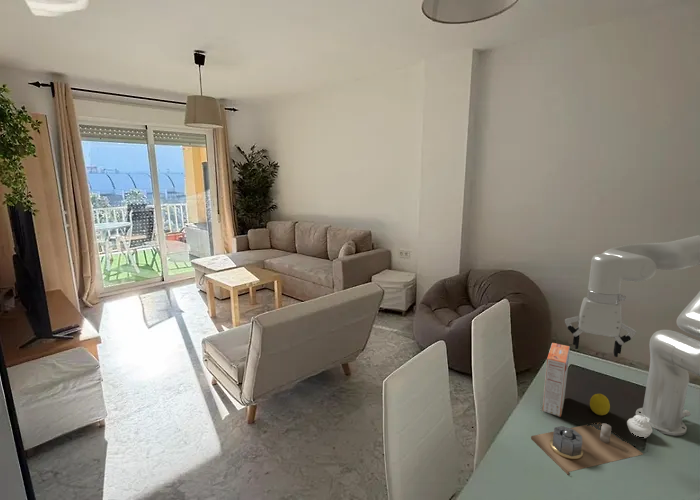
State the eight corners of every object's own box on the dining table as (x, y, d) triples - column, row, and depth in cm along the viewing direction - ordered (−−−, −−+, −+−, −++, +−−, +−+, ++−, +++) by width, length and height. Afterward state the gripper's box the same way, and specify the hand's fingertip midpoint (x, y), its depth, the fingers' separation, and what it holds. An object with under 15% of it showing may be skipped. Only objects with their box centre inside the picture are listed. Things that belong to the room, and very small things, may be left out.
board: (599, 424, 115) (601, 408, 114) (643, 457, 101) (646, 438, 100) (531, 438, 109) (532, 421, 108) (567, 474, 96) (570, 455, 94)
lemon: (611, 421, 116) (614, 399, 115) (592, 419, 117) (595, 398, 116) (603, 410, 122) (606, 390, 120) (585, 409, 123) (588, 388, 121)
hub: (566, 436, 108) (568, 419, 107) (590, 457, 100) (592, 438, 99) (543, 441, 107) (544, 423, 105) (565, 462, 99) (567, 443, 97)
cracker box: (546, 393, 132) (551, 341, 128) (564, 398, 129) (571, 345, 124) (540, 413, 121) (546, 357, 117) (560, 419, 117) (567, 362, 113)
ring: (553, 435, 108) (554, 423, 107) (580, 443, 104) (581, 431, 104) (552, 449, 102) (553, 437, 101) (580, 459, 99) (582, 447, 98)
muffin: (656, 443, 106) (659, 423, 105) (634, 443, 107) (638, 422, 105) (640, 429, 112) (643, 410, 111) (620, 428, 113) (623, 409, 111)
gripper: (638, 297, 101) (630, 352, 104) (567, 289, 110) (562, 339, 113) (642, 306, 95) (633, 364, 98) (567, 295, 103) (561, 349, 107)
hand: (595, 351), depth 105 cm, fingers open, 9 cm apart
